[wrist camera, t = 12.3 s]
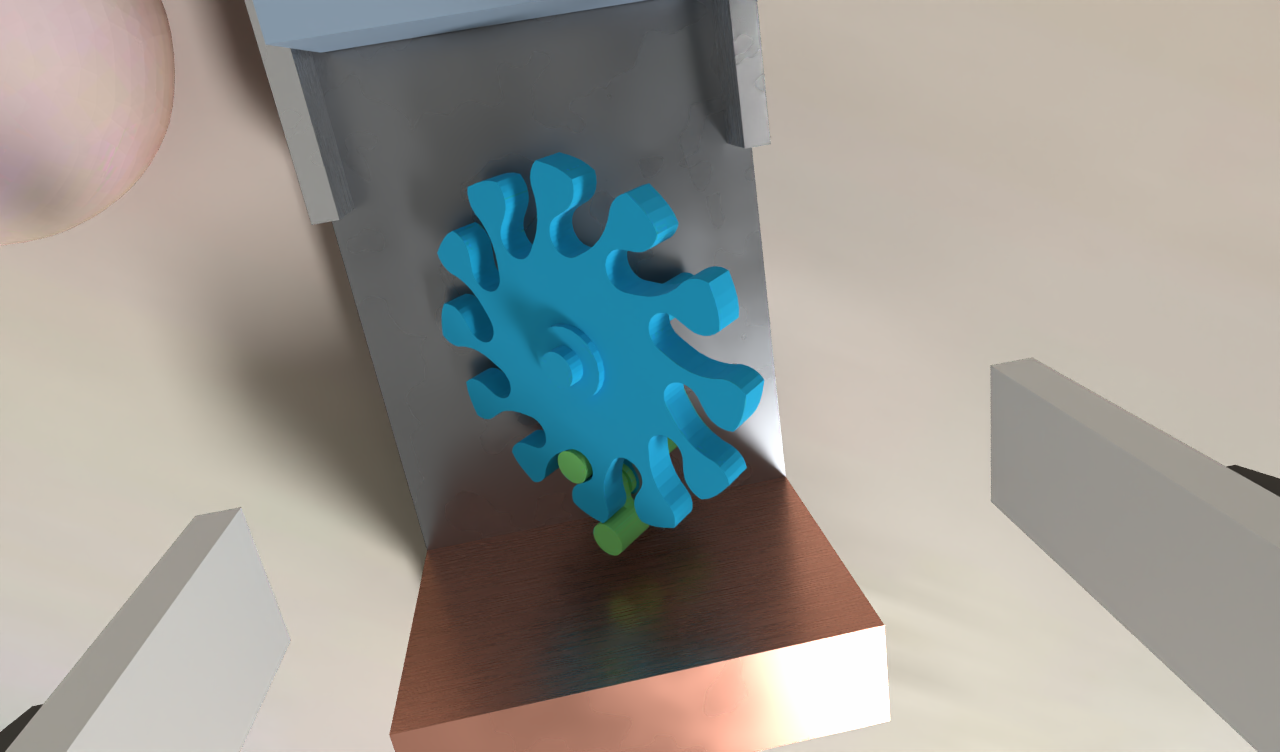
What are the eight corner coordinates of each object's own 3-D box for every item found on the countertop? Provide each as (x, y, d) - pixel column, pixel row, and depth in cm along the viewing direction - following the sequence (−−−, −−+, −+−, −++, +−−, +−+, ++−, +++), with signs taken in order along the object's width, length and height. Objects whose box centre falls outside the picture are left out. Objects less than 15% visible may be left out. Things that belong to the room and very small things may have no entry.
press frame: (696, -208, 22) (823, -420, 13) (779, 546, 31) (891, 750, 21) (246, -143, 21) (28, -321, 12) (460, 614, 30) (431, 857, 20)
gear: (385, 149, 21) (726, 195, 15) (544, 105, 25) (859, 128, 19) (460, 502, 26) (734, 632, 20) (581, 418, 30) (836, 507, 24)
